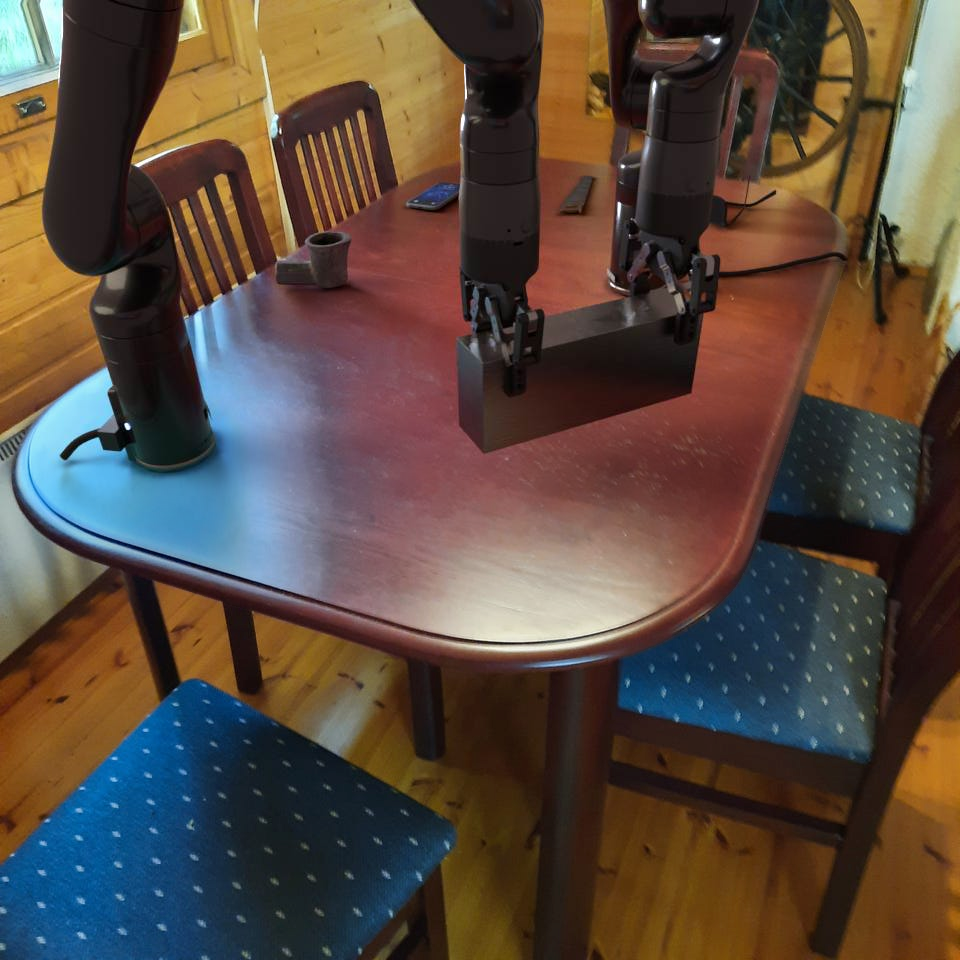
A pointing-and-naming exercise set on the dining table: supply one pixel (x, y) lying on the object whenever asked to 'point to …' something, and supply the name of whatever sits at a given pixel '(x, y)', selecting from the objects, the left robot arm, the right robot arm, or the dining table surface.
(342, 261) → the pipe
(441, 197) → the smartphone
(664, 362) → the box
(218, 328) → the dining table surface
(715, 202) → the sunglasses
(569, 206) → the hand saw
